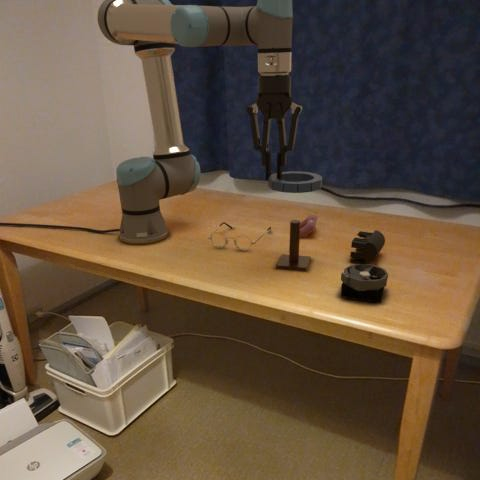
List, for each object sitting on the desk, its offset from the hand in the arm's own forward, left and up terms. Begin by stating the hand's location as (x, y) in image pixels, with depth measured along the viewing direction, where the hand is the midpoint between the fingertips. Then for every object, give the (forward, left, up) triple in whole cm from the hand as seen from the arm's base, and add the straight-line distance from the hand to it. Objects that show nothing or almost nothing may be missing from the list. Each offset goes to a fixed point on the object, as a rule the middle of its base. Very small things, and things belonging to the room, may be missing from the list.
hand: (273, 179), depth 121 cm
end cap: (+25, +8, -23) cm, 35 cm away
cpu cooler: (+25, -14, -23) cm, 36 cm away
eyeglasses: (-13, +15, -23) cm, 31 cm away
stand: (+6, 0, -23) cm, 23 cm away
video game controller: (+6, +25, -23) cm, 35 cm away
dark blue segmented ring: (+5, 0, -1) cm, 6 cm away
